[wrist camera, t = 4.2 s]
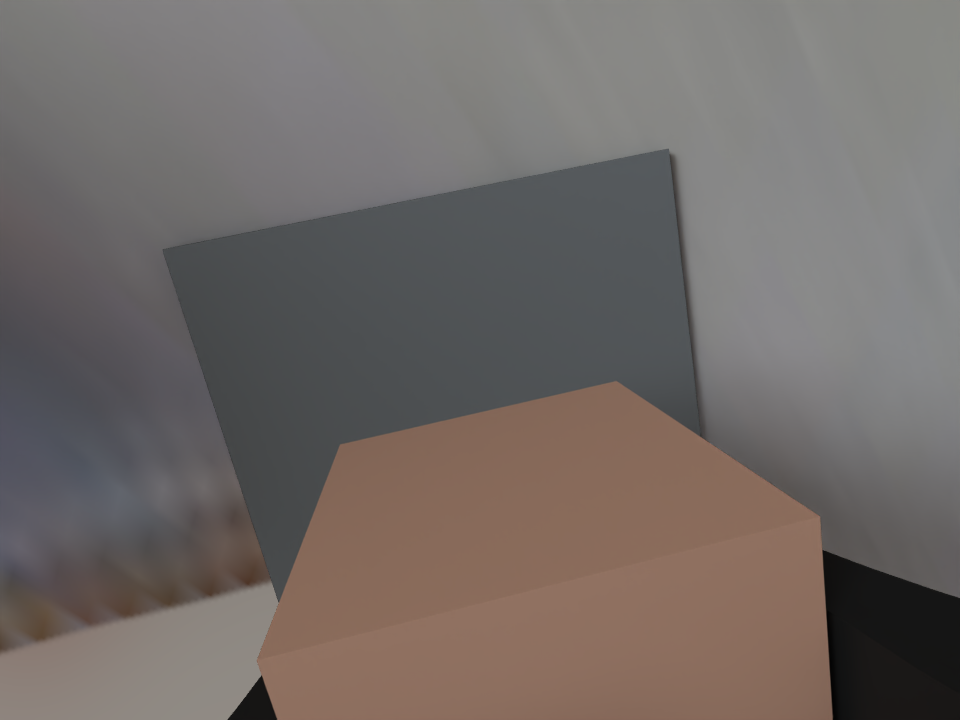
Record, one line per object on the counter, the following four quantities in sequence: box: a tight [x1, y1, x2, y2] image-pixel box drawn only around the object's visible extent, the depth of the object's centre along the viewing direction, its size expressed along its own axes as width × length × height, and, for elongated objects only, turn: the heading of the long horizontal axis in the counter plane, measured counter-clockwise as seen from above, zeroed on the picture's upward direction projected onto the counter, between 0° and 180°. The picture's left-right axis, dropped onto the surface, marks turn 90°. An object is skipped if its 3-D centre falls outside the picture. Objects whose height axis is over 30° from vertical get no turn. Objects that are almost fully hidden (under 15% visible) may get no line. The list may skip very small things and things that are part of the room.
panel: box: [163, 149, 701, 602], centre depth 16 cm, size 14×14×1 cm
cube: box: [257, 381, 833, 720], centre depth 8 cm, size 5×5×5 cm
